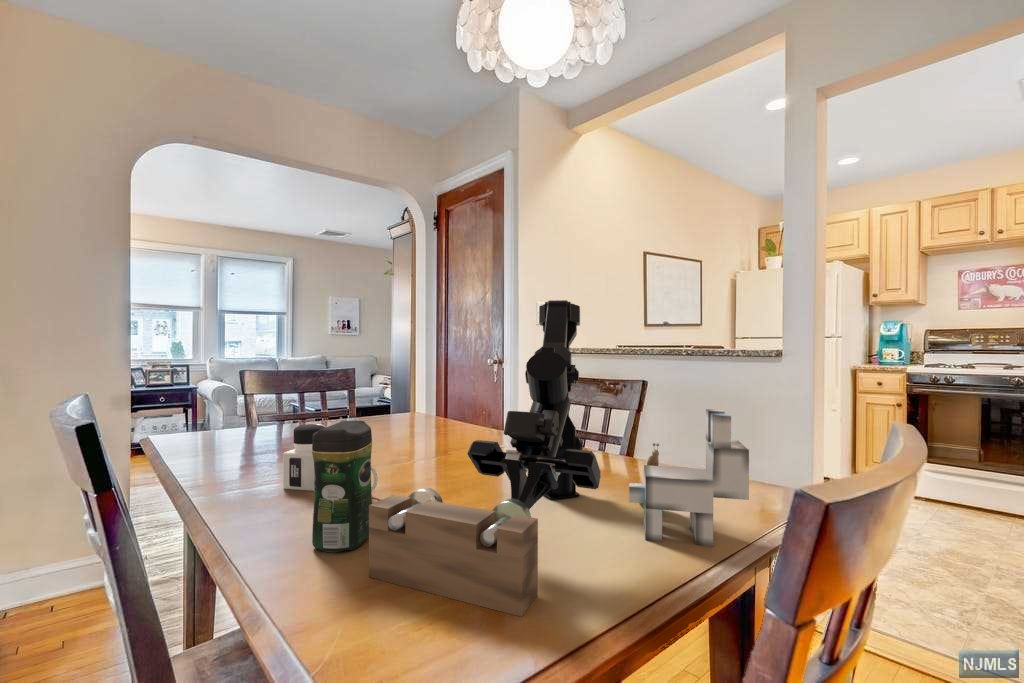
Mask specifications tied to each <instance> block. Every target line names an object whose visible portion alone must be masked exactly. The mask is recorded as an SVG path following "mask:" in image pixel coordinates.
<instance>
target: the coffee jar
mask: <svg viewBox="0 0 1024 683" xmlns="http://www.w3.org/2000/svg"><path fill="white" fill-rule="evenodd" d="M372 437H373V435H372V427H371V426H370V425H369V424H368V423H366V421H364V420H340V421H339V422H337V423H334V424H332V425H329V426H325V428H322V429H320V430H318V431H317V432H315V433H314V434H313V436H312V439H313V442H312V455H313V460H314V473H315V478H314V491H313V513H312V535H311V536H312V538H311V540H312V542H311V543H312V546H313V548H315V549H317V550H319V551H320V550H321V551H322V552H326V553H328V552H329V553H339V552H343V551H349V550H354V549H356V548H358V547H360V546H361V545H362V544H363V543H364V542H365V541H367V539H369V505H371V504H373V500H372V498H373V497H372V492H371V487H372V475H371V474H372V471H371V466H372V450H373V449H372V448H373V438H372Z"/></svg>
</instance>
